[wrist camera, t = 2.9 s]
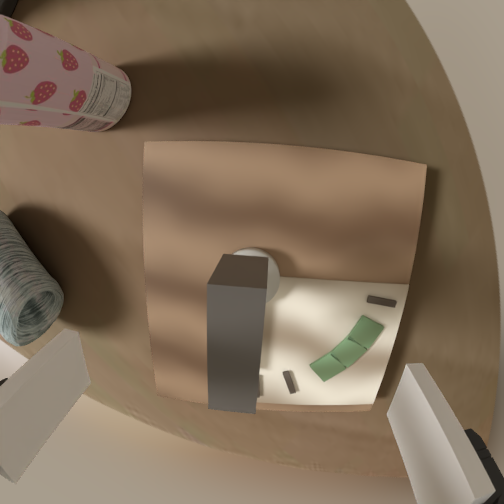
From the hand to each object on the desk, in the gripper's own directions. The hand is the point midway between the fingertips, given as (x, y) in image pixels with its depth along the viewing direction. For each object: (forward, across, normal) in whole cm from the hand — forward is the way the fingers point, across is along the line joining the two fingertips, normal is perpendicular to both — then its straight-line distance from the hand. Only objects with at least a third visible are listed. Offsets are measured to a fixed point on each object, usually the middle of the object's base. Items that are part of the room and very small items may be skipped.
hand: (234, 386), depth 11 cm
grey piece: (+11, 0, -2) cm, 12 cm away
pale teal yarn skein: (+14, -23, -2) cm, 27 cm away
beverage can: (+14, -13, +14) cm, 23 cm away
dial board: (+14, +2, -2) cm, 14 cm away
